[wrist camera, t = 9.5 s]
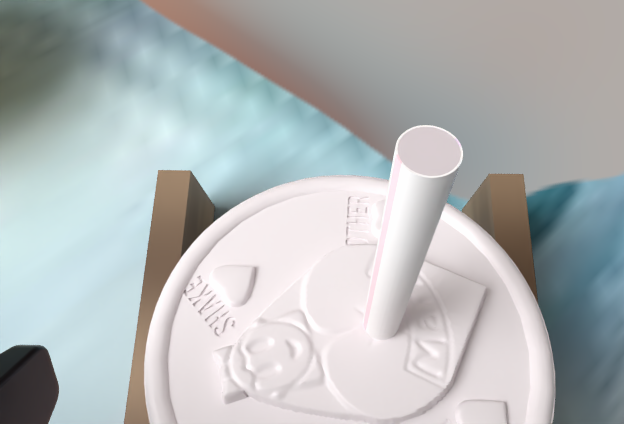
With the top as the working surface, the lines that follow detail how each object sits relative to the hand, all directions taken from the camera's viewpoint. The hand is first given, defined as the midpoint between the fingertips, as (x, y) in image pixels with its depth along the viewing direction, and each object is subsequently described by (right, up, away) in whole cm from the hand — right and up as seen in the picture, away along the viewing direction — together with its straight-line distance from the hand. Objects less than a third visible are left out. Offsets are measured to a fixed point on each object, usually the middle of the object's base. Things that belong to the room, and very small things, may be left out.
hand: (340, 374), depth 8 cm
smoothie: (0, -5, +9) cm, 10 cm away
